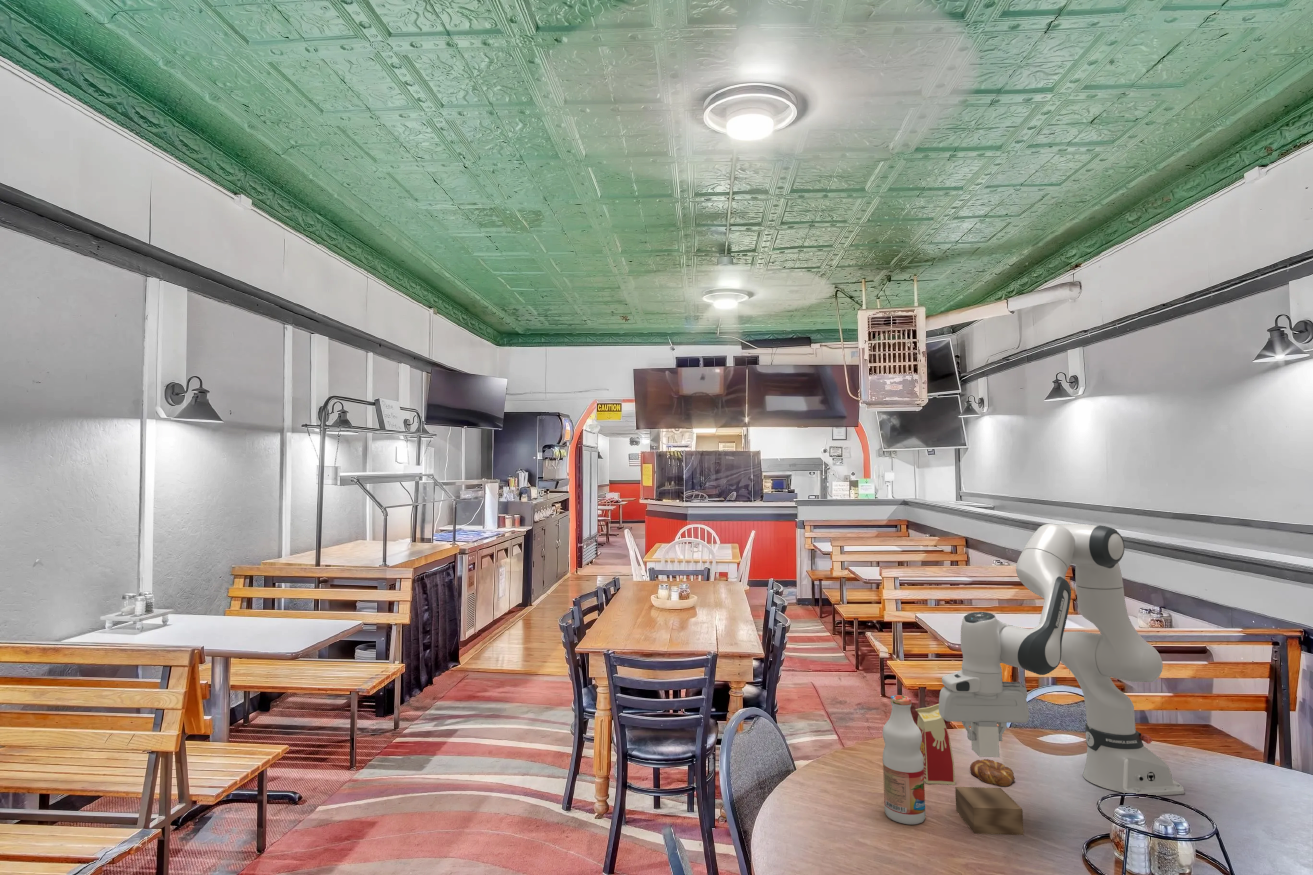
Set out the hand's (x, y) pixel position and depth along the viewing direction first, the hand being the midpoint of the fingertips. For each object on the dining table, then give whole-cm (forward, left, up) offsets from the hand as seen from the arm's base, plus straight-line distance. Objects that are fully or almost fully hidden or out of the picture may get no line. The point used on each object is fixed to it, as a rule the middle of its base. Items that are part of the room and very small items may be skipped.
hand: (984, 740), depth 158 cm
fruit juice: (+19, -2, -19) cm, 27 cm away
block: (0, 0, -19) cm, 19 cm away
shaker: (0, 0, -3) cm, 3 cm away
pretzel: (-12, -26, -19) cm, 35 cm away
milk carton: (+4, -25, -19) cm, 32 cm away
